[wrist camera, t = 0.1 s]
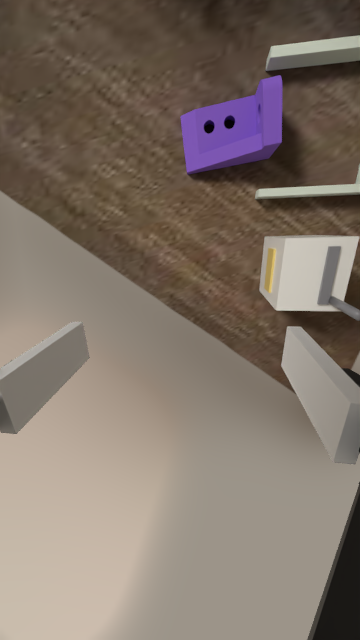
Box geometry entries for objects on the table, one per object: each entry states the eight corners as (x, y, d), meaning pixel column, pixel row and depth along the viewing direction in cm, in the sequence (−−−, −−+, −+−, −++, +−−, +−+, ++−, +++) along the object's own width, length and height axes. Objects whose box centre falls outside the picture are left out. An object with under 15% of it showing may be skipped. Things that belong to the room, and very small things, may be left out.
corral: (266, 60, 30) (271, 46, 27) (394, 45, 28) (411, 29, 25) (255, 199, 35) (258, 196, 33) (360, 194, 33) (371, 191, 31)
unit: (262, 236, 37) (302, 239, 21) (317, 235, 36) (400, 237, 20) (257, 290, 40) (288, 328, 25) (307, 290, 39) (372, 330, 23)
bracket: (267, 100, 31) (282, 67, 25) (268, 159, 34) (281, 142, 27) (181, 121, 33) (175, 94, 27) (187, 175, 35) (183, 162, 29)
